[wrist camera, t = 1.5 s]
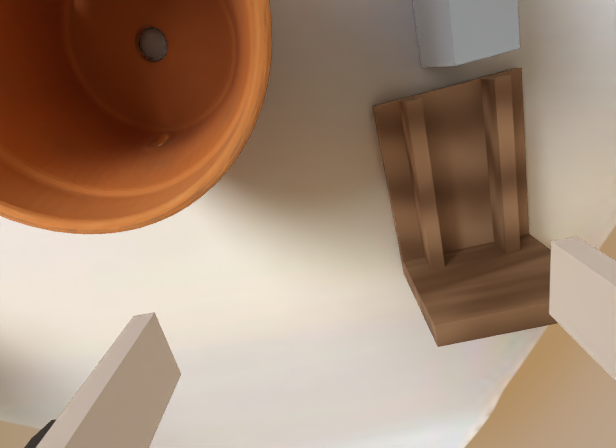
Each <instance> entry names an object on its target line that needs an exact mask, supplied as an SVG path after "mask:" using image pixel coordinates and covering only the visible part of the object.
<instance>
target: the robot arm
mask: <svg viewBox="0 0 616 448" xmlns="http://www.w3.org/2000/svg"><path fill="white" fill-rule="evenodd" d="M549 314H550V315H551V316H552V317H553V318H554V319H555V320H556V322H557V323H558V324H559V325H560V326H562V327H563V329H564V330H565V331H566V332H567V333H568V334H569V335H571V337H572V338H573V339H574V340H575V341H576V342H577V343H578V344H579V345H580V346H581V347H582V348H583V349H584V350H585V351H586V352H587V353H588V354H589V355H590V356H591V357H592V358H593V359H594V360H595V361H596V362H597V363H598V364H599V365H600V366H601V367H602V368H603V369H604V370H605V371H606V372H607V373H608V374H609V375H610V376H611V377H612V378H613V379H614V380H615V381H616V260H614V259H612V258H611V257H609V256H607V255H606V254H604V253H603V252H601V251H599V250H598V249H596V248H594V247H593V246H591V245H590V244H588V243H586V242H585V241H583V240H581V239H580V238H578V237H572V238H566V239H561V240H555V241H551V262H550V300H549ZM180 376H181V373H180V370H179V368H178V366H177V363H176V361H175V359H174V356H173V354H172V352H171V349H170V347H169V345H168V342H167V340H166V338H165V336H164V333H163V331H162V329H161V326H160V324H159V322H158V319H157V317H156V315H155V312H154V313H149V314H143V315H137V316H133V318H132V319H131V320H130V322H129V323H128V324H127V326H126V327H125V328H124V330H123V331H122V332H121V334H120V335H119V336H118V338H117V339H116V341H115V342H114V343H113V345H112V346H111V347H110V349H109V350H108V351H107V353H106V354H105V355H104V357H103V358H102V359H101V361H100V362H99V363H98V365H97V366H96V367H95V369H94V370H93V371H92V373H91V374H90V375H89V377H88V378H87V379H86V381H85V382H84V384H83V385H82V386H81V388H80V389H79V390H78V392H77V393H76V394H75V396H74V397H73V398H72V400H71V401H70V402H69V404H68V405H67V406H66V408H65V409H64V410H63V412H62V413H61V414H60V416H59V417H58V418H57V419H56V420H51V421H50V422H49V423H48V424H47V425H46V426H45V427H44V428H43V429H41V430H40V431H39V432H38V433H37V434H36V435H35V436H34V437H33V438H32V439H31V440H30V441H29V443H28V444H27V445H26V446H25V448H149V446H150V444H151V441H152V439H153V437H154V434H155V432H156V430H157V428H158V425H159V423H160V421H161V419H162V416H163V414H164V412H165V410H166V407H167V405H168V403H169V400H170V398H171V396H172V394H173V391H174V389H175V387H176V385H177V382H178V380H179V378H180Z"/></svg>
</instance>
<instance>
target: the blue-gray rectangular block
mask: <svg viewBox="0 0 616 448" xmlns="http://www.w3.org/2000/svg"><path fill="white" fill-rule="evenodd" d="M412 3H413V10H414V18H415V25H416V32H417V40H418V47H419V54H420V62H421V68H424V67H444V66H457V65H461V64H465V63H468V62H472V61H476V60H479V59H483V58H487V57H490V56H494V55H498V54H501V53H505V52H509V51H512V50H516V49H520V37H519V15H518V0H412Z"/></svg>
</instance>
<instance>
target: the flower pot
mask: <svg viewBox="0 0 616 448" xmlns="http://www.w3.org/2000/svg"><path fill="white" fill-rule="evenodd" d="M147 28H157V29H159V30H160V31H161V32H162V33H163V34H164V36H165V38H166V41H167V47H168V49H167V54H166V55H165V57H164V58H163V59H162V60H160V61H151V60H149V59H147V58H146V57H145V56H144V55H143V54H142V52H141V50H140V48H139V37H140V34H141V32H142V31H143V30H145V29H147ZM271 55H272V25H271V11H270V3H269V0H0V216H2V217H5V218H7V219H10V220H13V221H16V222H19V223H22V224H26V225H29V226H33V227H37V228H41V229H46V230H51V231H57V232H65V233H74V234H105V233H115V232H122V231H128V230H132V229H137V228H141V227H144V226H147V225H150V224H153V223H156V222H158V221H161V220H163V219H166V218H168V217H170V216H172V215H174V214H176V213H178V212H179V211H181V210H183V209H184V208H186V207H188V206H189V205H191V204H192V203H193V202H195V201H196V200H197V199H199V198H200V197H201V196H202V195H204V194H205V193H206V192H207V191H208V190H209V189H210V188H212V187H213V186H214V185H215V184H216V183H217V182H218V181H219V180H220V179H221V177H222V176H223V175H224V174H225V173H226V172H227V171H228V169H229V168H230V167H231V165H232V164H233V163H234V161H235V160H236V158H237V157H238V155H239V154H240V152H241V151H242V149H243V147H244V146H245V144H246V142H247V140H248V139H249V137H250V135H251V133H252V130H253V128H254V126H255V124H256V121H257V119H258V116H259V114H260V111H261V108H262V104H263V101H264V97H265V93H266V89H267V85H268V79H269V73H270V66H271ZM162 143H163V144H162ZM160 144H161V145H160ZM159 145H160V146H159ZM157 146H158V147H157Z"/></svg>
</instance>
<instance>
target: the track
mask: <svg viewBox="0 0 616 448" xmlns="http://www.w3.org/2000/svg"><path fill="white" fill-rule="evenodd" d="M373 111H374V116H375V122H376V127H377V132H378V138H379V143H380V148H381V154H382V159H383V164H384V170H385V175H386V180H387V186H388V191H389V196H390V202H391V207H392V212H393V218H394V223H395V228H396V234H397V239H398V244H399V250H400V255H401V260H402V266H403V271H404V275H405V277H406V279H407V281H408V284H409V286H410V288H411V290H412V292H413V294H414V297H415V299H416V301H417V303H418V305H419V307H420V309H421V312H422V314H423V316H424V318H425V320H426V322H427V325H428V327H429V329H430V331H431V333H432V335H433V337H434V340H435V342H436V344H437V346H438V347H440V346H445V345H450V344H455V343H460V342H465V341H470V340H475V339H480V338H485V337H490V336H495V335H500V334H505V333H510V332H516V331H521V330H526V329H531V328H536V327H541V326H546V325H551V324H556V323H557V322H556V320H555V319H554V318H553V317H552V316H551V315H550V314H549V300H550V262H551V250H550V249H549V248H547V247H546V246H545V245H543V244H542V243H541V242H539V241H538V240H536V239H535V238H534V237H532V236H531V235H530V234H529V226H528V203H527V181H526V158H525V136H524V113H523V91H522V68H514V69H511V70H507V71H503V72H499V73H496V74H492V75H488V76H484V77H480V78H477V79H473V80H469V81H465V82H462V83H458V84H454V85H450V86H447V87H443V88H439V89H435V90H432V91H428V92H424V93H420V94H417V95H413V96H409V97H405V98H402V99H398V100H394V101H390V102H387V103H383V104H379V105H375V106H373Z"/></svg>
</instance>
